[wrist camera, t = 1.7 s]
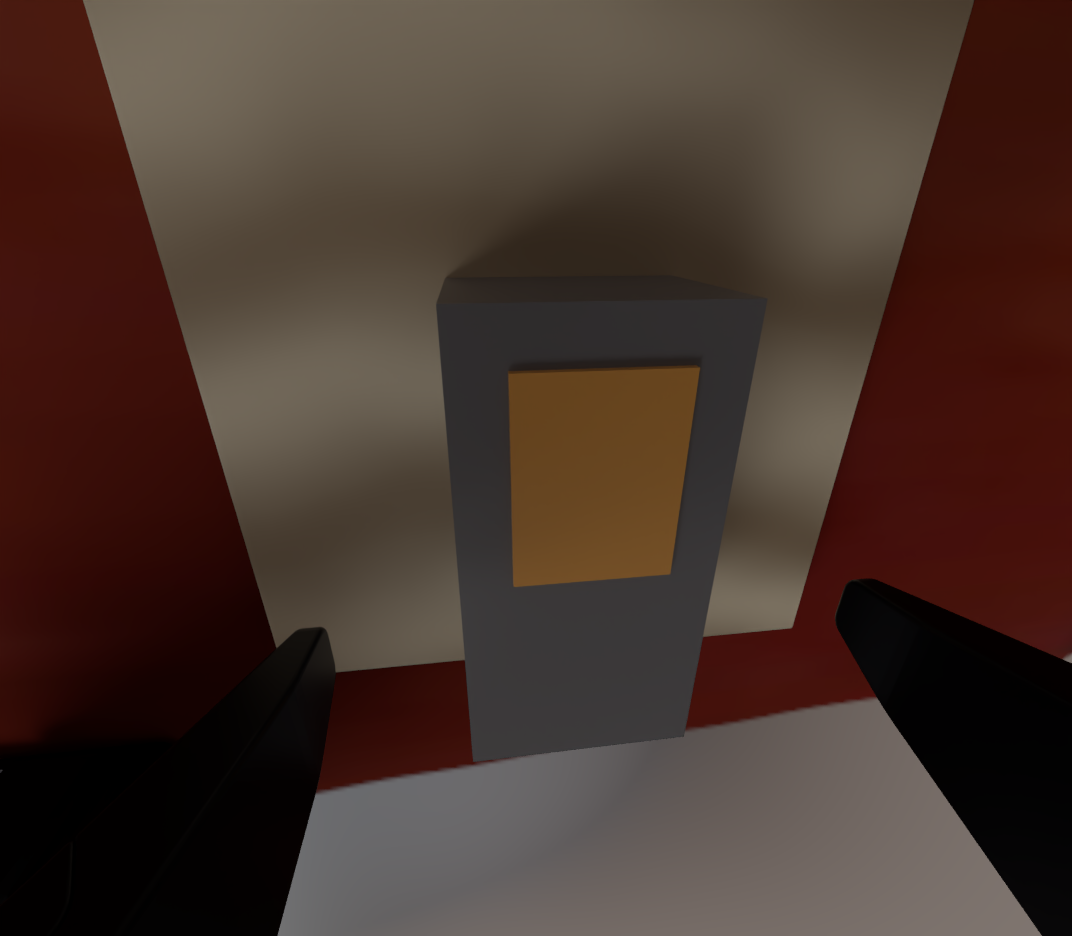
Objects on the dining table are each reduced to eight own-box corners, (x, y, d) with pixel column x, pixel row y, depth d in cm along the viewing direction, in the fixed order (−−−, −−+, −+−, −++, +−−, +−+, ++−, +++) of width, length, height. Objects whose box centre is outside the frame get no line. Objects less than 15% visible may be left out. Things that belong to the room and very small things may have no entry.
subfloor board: (767, 598, 18) (792, 628, 17) (300, 639, 16) (284, 678, 15) (1030, -434, 8) (1140, -562, 7) (-38, -617, 7) (-170, -839, 5)
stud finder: (633, 619, 16) (686, 741, 12) (471, 634, 15) (473, 768, 11) (671, 275, 11) (772, 299, 8) (445, 277, 11) (435, 305, 7)
